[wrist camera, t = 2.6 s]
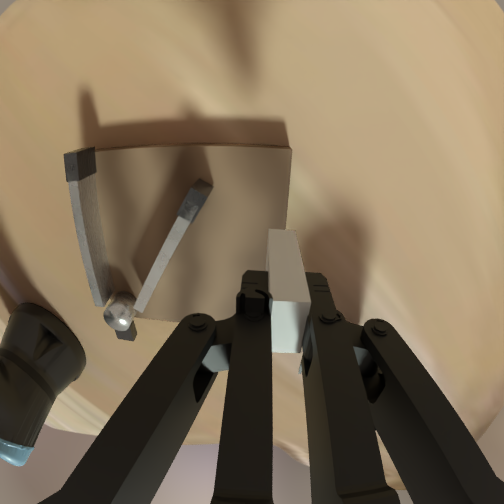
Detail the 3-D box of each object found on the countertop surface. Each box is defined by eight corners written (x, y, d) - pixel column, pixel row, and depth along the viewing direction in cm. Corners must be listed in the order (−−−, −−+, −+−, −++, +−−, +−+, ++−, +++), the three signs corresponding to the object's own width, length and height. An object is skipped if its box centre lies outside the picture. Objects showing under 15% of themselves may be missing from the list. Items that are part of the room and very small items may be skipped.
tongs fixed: (115, 323, 30) (106, 340, 28) (82, 148, 21) (63, 154, 18) (144, 327, 30) (136, 345, 28) (117, 143, 21) (100, 149, 18)
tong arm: (141, 289, 28) (131, 307, 25) (199, 177, 22) (190, 187, 20) (153, 295, 28) (144, 314, 25) (214, 186, 23) (207, 197, 20)
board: (121, 304, 31) (115, 314, 30) (96, 149, 23) (85, 152, 21) (273, 316, 31) (274, 328, 30) (289, 146, 23) (292, 149, 21)
